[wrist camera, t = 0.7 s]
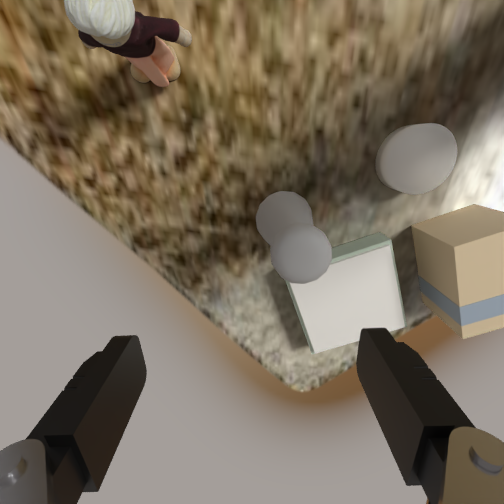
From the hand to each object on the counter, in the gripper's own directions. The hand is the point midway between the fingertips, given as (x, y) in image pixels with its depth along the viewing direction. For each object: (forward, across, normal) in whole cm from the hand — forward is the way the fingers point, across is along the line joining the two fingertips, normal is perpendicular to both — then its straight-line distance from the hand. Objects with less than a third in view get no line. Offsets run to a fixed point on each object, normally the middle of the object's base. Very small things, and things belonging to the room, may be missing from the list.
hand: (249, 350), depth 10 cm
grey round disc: (+22, -16, -4) cm, 28 cm away
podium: (+22, -11, +11) cm, 27 cm away
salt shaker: (+22, -3, +1) cm, 22 cm away
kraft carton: (+22, -23, +7) cm, 33 cm away
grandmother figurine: (+22, +8, -14) cm, 27 cm away
